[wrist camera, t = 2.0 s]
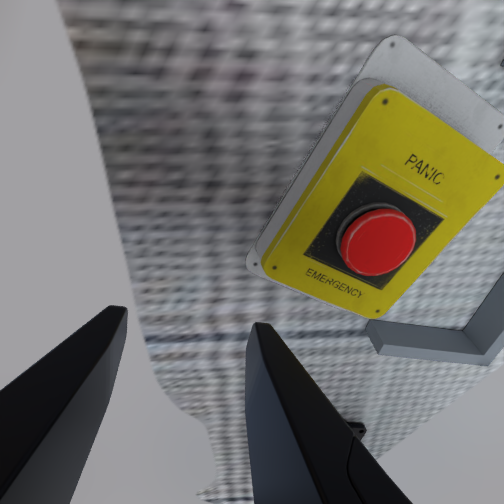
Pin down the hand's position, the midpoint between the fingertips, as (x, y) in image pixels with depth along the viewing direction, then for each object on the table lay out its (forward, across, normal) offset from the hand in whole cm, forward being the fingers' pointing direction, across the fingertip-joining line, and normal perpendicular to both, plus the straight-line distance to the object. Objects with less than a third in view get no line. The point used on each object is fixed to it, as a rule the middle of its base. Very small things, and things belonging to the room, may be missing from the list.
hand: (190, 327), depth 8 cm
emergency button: (+13, -10, 0) cm, 16 cm away
